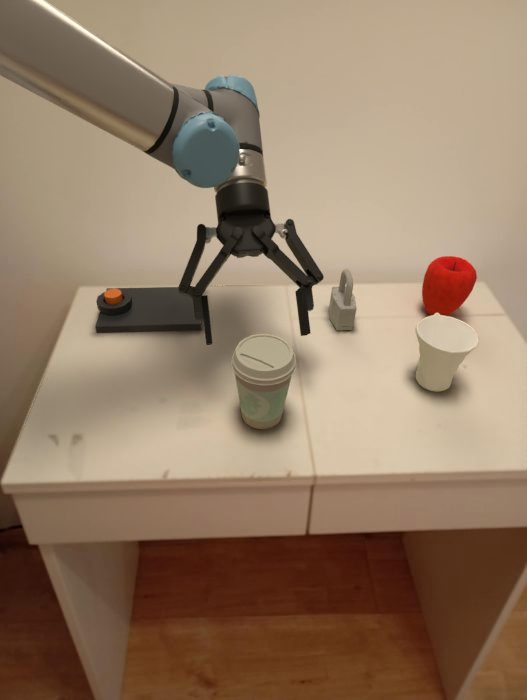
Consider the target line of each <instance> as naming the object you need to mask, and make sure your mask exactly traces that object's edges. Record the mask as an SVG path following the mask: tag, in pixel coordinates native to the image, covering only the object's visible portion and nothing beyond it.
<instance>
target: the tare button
mask: <svg viewBox="0 0 527 700" xmlns="http://www.w3.org/2000/svg"><path fill="white" fill-rule="evenodd" d="M104 292H105V293H104V297H105V301H106V303H107V304H118V303H120V302H122V300H123V298H122V292H121V291H120V290H119V289H109V290H107V291H106V290H105V291H104Z"/></svg>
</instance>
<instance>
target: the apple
mask: <svg viewBox="0 0 527 700" xmlns="http://www.w3.org/2000/svg"><path fill="white" fill-rule="evenodd" d="M477 279H478V276H477V270H476V268H475V267H474V266H473V264H472V263H470V262H469V261H468V260H466V259H465V258H462V257H459V256H453V255H445V256H439V257H436V258H435V259H433V260H432V261H431V262H430V263H429V265H428V266H427V269H426V271H425V273H424V277H423V281H422V287H421V298H422V303H423V307H424V310H425V312H426V313H427V314H428V315H429V316H432V315H434V314H435V313H439V314H440V315H443V316H449V317H450V316H451V315H452V314H453V313H455V312H456V311H458V309H459V308H461V306H463V304H464V303H465V302H466V301H467V299H468V298H469V296H470V295H471V293H472V292H473V290H474V287H475V285H476V282H477Z"/></svg>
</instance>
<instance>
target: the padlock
mask: <svg viewBox="0 0 527 700" xmlns="http://www.w3.org/2000/svg"><path fill="white" fill-rule="evenodd" d="M353 289H354V279H353V275H352V272H351V271H350V269H348V268H344V269H343V270H342V271H341V275H340V278H339V284H338V286H332V287H331V293H330V299H329V306H328V313H329V320H330V322H331V323H332V325H333V326H334V328H335V330H336V331H353V328H354V324H355V319H356V313H357V301H356V296H355V295H354V294H353Z"/></svg>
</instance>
